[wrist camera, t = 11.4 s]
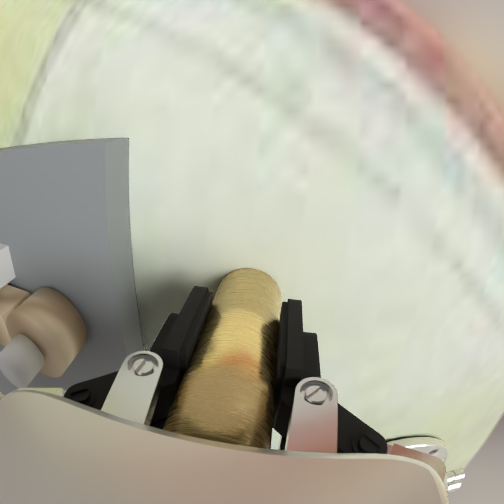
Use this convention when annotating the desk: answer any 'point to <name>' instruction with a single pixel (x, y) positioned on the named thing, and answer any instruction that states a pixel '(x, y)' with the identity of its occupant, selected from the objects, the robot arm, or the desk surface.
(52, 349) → the link
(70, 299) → the grey base plate
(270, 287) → the pin
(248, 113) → the desk surface
